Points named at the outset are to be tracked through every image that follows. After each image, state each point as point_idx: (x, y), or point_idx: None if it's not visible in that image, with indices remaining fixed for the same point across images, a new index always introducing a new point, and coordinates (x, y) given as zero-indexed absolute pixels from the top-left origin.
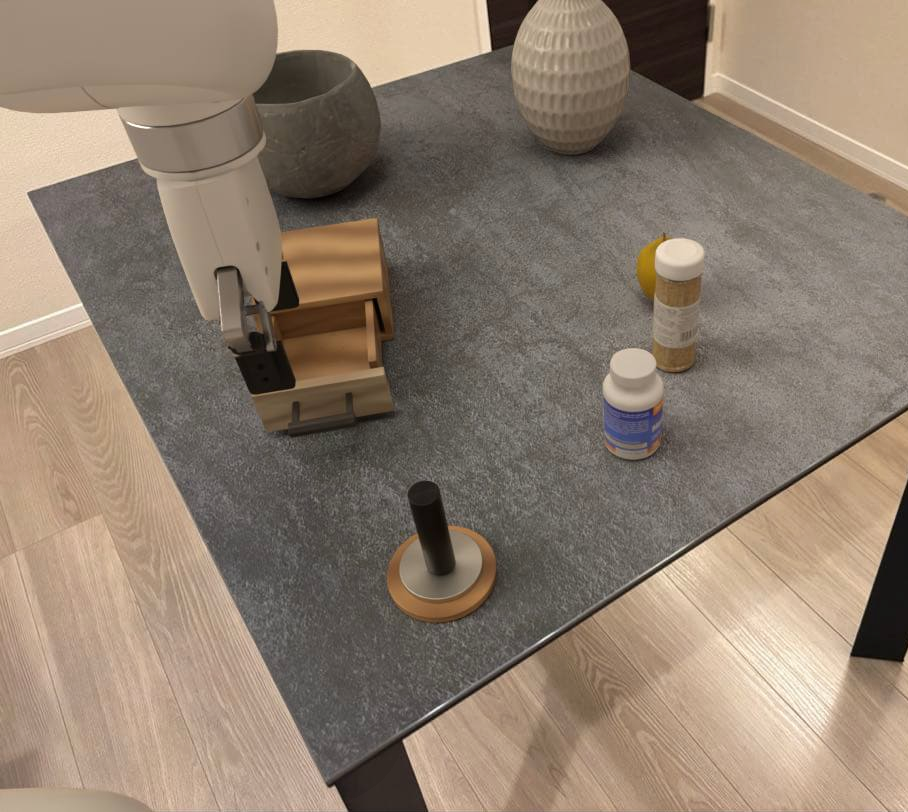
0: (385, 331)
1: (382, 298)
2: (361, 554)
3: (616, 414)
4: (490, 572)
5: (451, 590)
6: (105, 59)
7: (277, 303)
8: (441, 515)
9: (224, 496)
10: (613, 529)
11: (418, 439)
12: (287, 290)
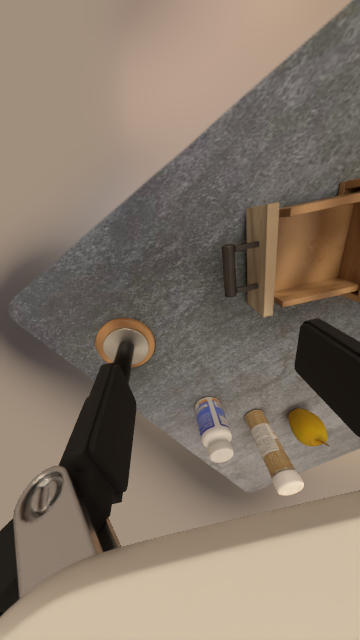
0: None
1: (354, 299)
2: (136, 300)
3: (203, 427)
4: None
5: (110, 354)
6: None
7: (306, 356)
8: None
9: (186, 183)
10: (157, 401)
11: (223, 317)
12: (319, 390)
